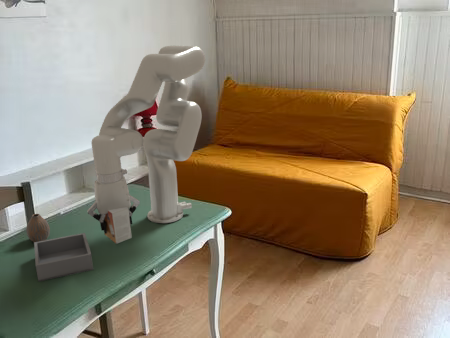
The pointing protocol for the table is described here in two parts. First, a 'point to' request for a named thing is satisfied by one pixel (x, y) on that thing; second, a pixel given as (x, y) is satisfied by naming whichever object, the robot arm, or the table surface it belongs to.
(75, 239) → the bin
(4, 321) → the table surface
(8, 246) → the table surface
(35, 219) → the vase
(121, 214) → the small box
